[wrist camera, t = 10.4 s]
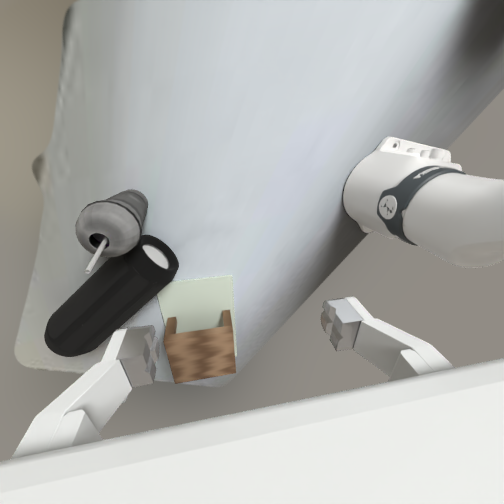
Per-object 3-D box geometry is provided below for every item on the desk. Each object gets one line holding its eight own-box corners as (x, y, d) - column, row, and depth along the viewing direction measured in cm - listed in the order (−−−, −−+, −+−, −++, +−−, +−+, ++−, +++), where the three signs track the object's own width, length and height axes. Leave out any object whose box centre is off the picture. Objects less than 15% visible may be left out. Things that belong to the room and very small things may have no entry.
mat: (232, 274, 50) (232, 276, 50) (236, 354, 63) (237, 355, 62) (154, 283, 48) (154, 284, 47) (175, 364, 60) (175, 366, 60)
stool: (233, 331, 49) (235, 372, 55) (229, 309, 54) (232, 349, 61) (163, 341, 46) (175, 383, 53) (167, 317, 52) (177, 358, 59)
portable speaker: (103, 328, 51) (83, 370, 42) (57, 305, 46) (24, 347, 38) (184, 255, 46) (180, 285, 38) (142, 222, 42) (126, 247, 33)
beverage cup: (147, 176, 38) (101, 219, 21) (162, 217, 42) (134, 282, 25) (102, 186, 38) (16, 237, 20) (121, 226, 41) (63, 299, 24)
